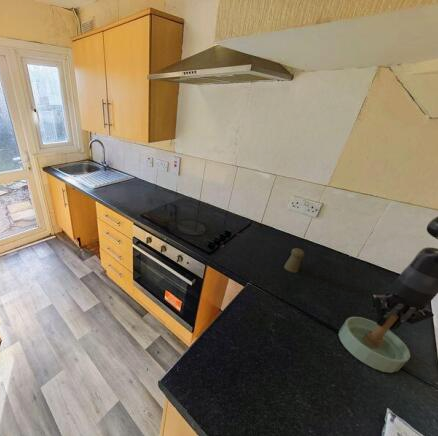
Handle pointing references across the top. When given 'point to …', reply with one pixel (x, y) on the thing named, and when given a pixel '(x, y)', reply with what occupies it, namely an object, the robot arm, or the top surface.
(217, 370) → the top surface
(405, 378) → the top surface
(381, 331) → the muddler
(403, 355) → the bowl
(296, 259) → the cork
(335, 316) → the top surface
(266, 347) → the top surface
